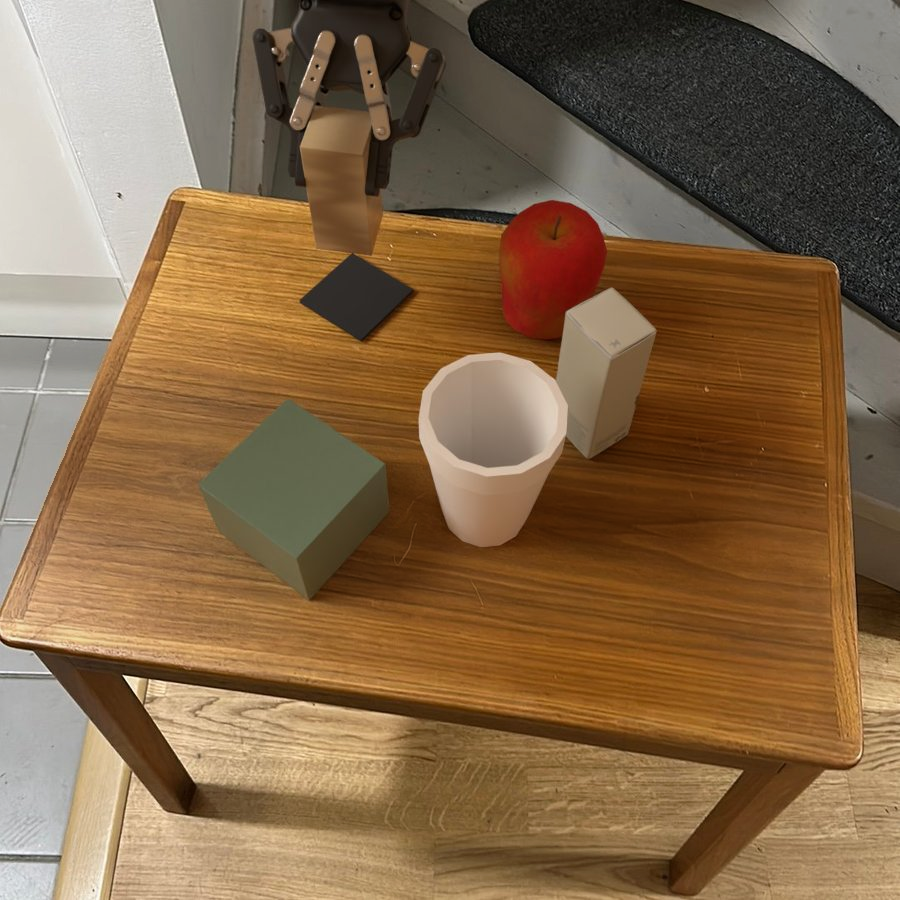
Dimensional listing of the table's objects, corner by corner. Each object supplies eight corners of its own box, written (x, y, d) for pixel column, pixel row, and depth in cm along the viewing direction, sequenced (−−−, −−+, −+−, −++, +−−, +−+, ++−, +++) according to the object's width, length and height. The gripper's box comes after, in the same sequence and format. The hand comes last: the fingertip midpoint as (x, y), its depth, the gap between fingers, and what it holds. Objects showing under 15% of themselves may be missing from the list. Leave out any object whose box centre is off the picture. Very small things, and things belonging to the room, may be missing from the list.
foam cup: (464, 589, 66) (470, 501, 55) (398, 492, 70) (391, 393, 59) (572, 526, 69) (598, 431, 57) (503, 436, 73) (514, 331, 62)
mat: (299, 303, 80) (299, 300, 79) (352, 255, 83) (352, 252, 82) (361, 342, 77) (361, 339, 77) (413, 292, 80) (413, 289, 80)
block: (315, 249, 72) (299, 146, 64) (328, 208, 75) (314, 104, 66) (371, 256, 72) (362, 154, 64) (383, 215, 74) (376, 112, 66)
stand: (217, 531, 68) (196, 484, 62) (300, 449, 72) (287, 397, 66) (309, 601, 65) (296, 558, 59) (389, 511, 69) (385, 463, 63)
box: (629, 436, 73) (663, 332, 62) (585, 462, 71) (613, 361, 60) (587, 390, 75) (613, 283, 64) (544, 415, 74) (563, 310, 63)
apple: (502, 273, 82) (511, 168, 72) (597, 288, 81) (619, 184, 71) (485, 348, 77) (492, 248, 67) (585, 365, 76) (607, 265, 66)
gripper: (241, -95, 60) (225, 176, 64) (458, -73, 59) (427, 201, 63) (275, -59, 67) (258, 182, 71) (468, -39, 66) (440, 205, 70)
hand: (337, 190), depth 67 cm, fingers closed on block, 4 cm apart
